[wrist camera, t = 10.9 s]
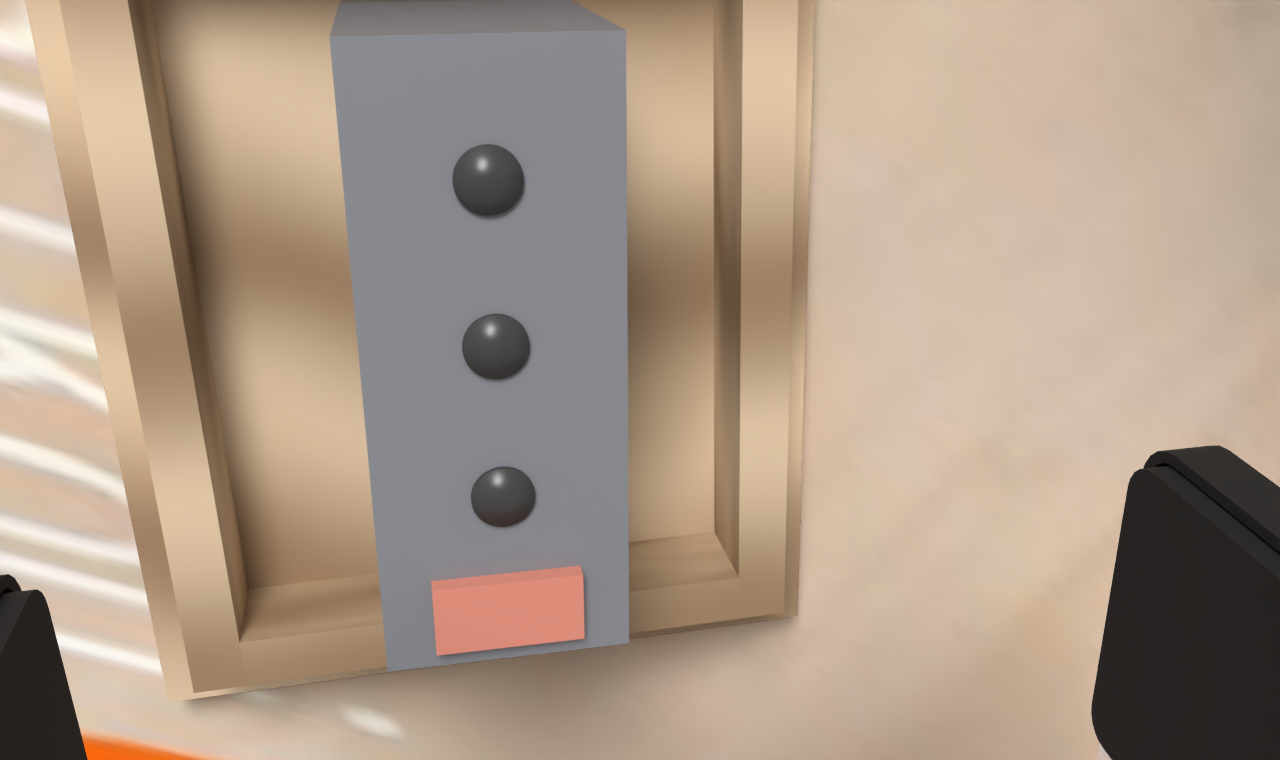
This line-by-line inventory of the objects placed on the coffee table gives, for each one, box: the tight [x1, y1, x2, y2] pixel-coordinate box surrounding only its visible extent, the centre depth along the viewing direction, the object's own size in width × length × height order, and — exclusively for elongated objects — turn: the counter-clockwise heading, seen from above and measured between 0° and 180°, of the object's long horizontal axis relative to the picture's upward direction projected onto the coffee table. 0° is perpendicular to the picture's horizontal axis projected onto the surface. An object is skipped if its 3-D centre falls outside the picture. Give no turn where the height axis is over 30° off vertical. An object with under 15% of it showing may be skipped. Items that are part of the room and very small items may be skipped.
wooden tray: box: [25, 0, 815, 702], centre depth 23 cm, size 18×14×3 cm
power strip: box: [329, 0, 629, 672], centre depth 21 cm, size 10×4×6 cm, turn 0°
